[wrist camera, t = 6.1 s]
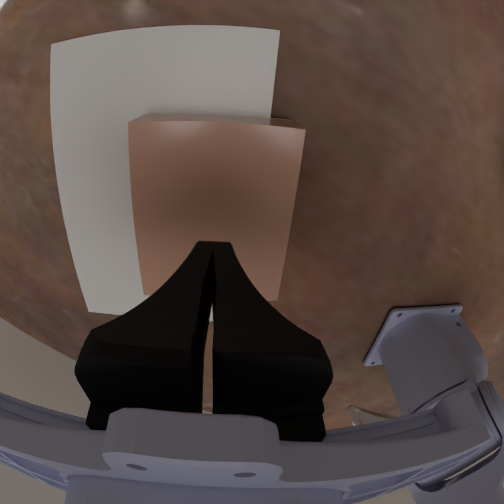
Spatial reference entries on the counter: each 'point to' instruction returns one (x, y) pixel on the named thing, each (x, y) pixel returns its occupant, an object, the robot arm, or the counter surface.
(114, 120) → the board
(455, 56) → the counter surface
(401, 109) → the counter surface
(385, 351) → the robot arm
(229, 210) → the tile
